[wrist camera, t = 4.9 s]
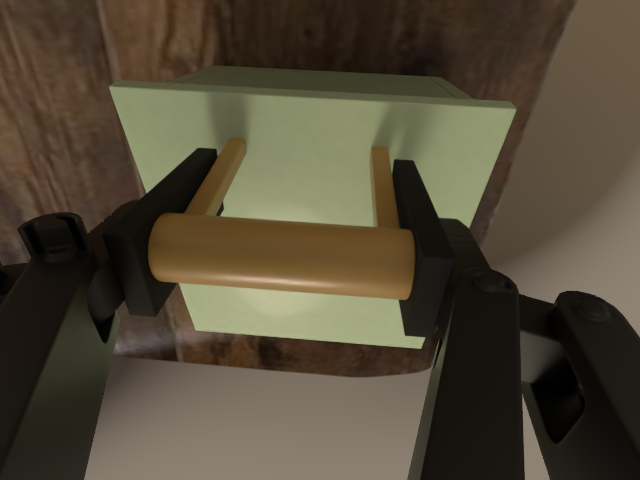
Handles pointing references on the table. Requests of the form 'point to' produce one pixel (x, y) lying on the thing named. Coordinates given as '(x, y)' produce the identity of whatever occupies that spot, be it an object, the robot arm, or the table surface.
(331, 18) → the table surface
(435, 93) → the chest
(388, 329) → the lid
